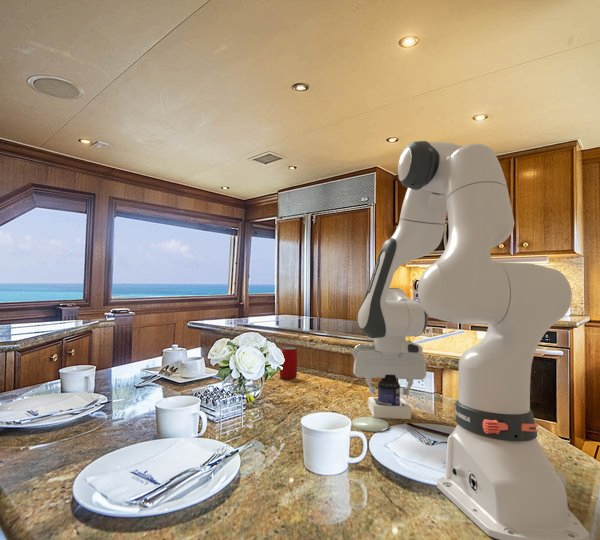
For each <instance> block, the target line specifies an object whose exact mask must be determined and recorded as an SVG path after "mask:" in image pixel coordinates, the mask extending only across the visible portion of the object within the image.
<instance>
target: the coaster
mask: <svg viewBox="0 0 600 540" xmlns="http://www.w3.org/2000/svg"><path fill="white" fill-rule="evenodd" d="M351 422H352V423H351V424H352V426H353V428H355V429H357V430H360V431H363V432H368V433H369V432H372V433H376V432H377V433H378V432H379V431H381V430H383V429H386V428H388V429H389V422H387V421H386V420H384V419H383V418H374V417H372V416H359V417H356V418H354V419H352V421H351ZM381 432H382V431H381ZM379 433H380V432H379Z"/></svg>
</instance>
